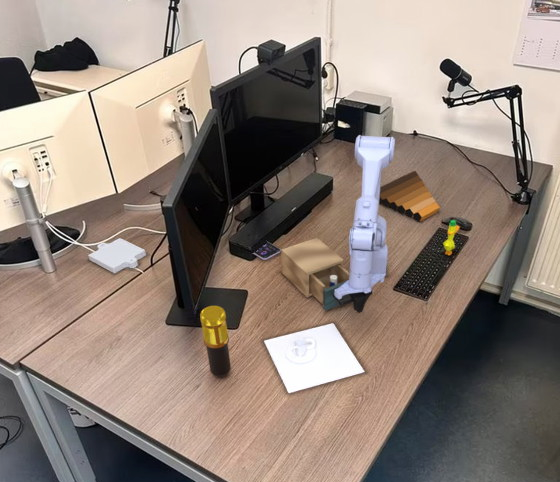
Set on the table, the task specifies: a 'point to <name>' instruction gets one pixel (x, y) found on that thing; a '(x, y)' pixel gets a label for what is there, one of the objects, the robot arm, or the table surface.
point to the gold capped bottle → (216, 340)
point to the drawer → (322, 289)
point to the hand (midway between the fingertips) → (358, 310)
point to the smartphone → (267, 251)
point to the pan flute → (409, 197)
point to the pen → (333, 280)
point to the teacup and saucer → (312, 357)
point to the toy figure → (450, 237)
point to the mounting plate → (117, 255)
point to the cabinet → (307, 262)
